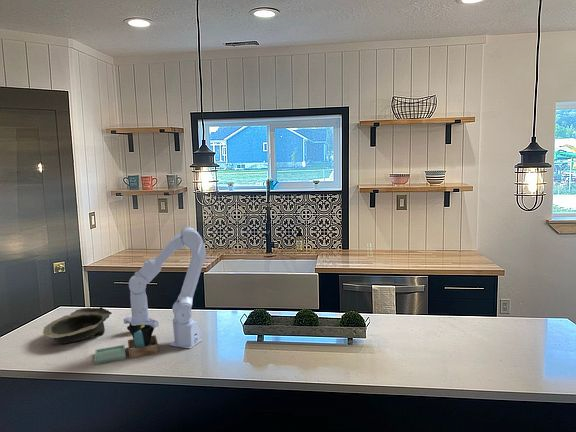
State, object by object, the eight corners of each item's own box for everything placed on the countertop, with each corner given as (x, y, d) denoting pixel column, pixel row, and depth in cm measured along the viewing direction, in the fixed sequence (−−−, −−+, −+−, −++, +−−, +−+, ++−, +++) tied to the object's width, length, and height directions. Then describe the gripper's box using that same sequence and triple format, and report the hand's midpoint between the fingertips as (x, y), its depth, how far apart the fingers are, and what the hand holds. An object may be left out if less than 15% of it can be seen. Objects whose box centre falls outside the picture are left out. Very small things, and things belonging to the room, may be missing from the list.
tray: (124, 348, 167) (124, 344, 167) (125, 358, 158) (125, 354, 157) (95, 353, 163) (95, 349, 163) (95, 364, 154) (94, 360, 154)
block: (151, 348, 165) (149, 330, 165) (143, 353, 162) (142, 334, 161) (142, 347, 167) (141, 329, 166) (135, 351, 163) (133, 333, 162)
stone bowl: (122, 325, 190) (120, 304, 189) (92, 355, 166) (88, 332, 164) (67, 324, 193) (64, 304, 191) (30, 354, 169) (26, 331, 167)
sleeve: (156, 342, 171) (155, 335, 170) (158, 352, 162) (158, 344, 161) (128, 347, 167) (127, 339, 167) (129, 358, 158) (128, 350, 158)
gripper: (116, 309, 162) (119, 345, 163) (147, 313, 156) (151, 350, 158) (130, 303, 168) (133, 338, 170) (161, 307, 162) (164, 342, 164)
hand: (142, 343), depth 164 cm, fingers closed on block, 4 cm apart
